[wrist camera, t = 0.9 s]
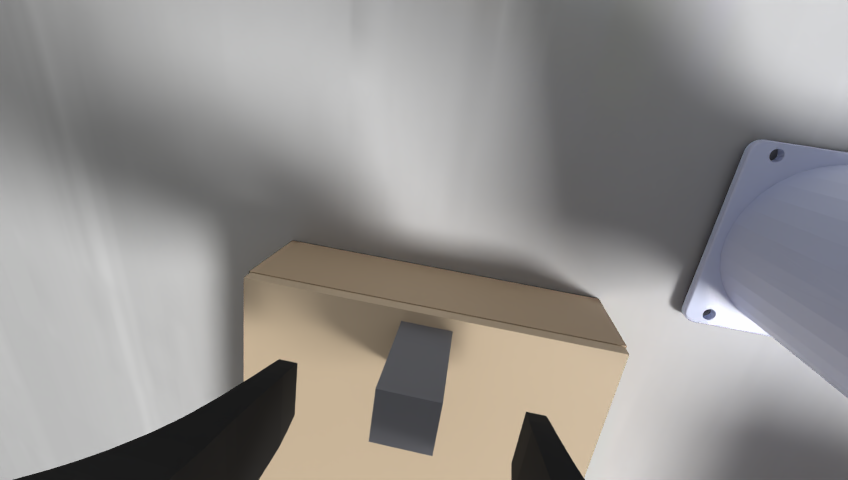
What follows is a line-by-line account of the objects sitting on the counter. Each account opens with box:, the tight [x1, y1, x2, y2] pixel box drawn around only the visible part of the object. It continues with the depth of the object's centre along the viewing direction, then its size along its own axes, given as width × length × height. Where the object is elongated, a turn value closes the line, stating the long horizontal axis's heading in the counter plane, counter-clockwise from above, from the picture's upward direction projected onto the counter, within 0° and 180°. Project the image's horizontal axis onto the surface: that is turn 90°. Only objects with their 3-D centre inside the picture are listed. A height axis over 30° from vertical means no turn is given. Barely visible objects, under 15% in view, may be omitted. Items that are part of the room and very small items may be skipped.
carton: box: [249, 241, 627, 348], centre depth 21 cm, size 15×16×4 cm
